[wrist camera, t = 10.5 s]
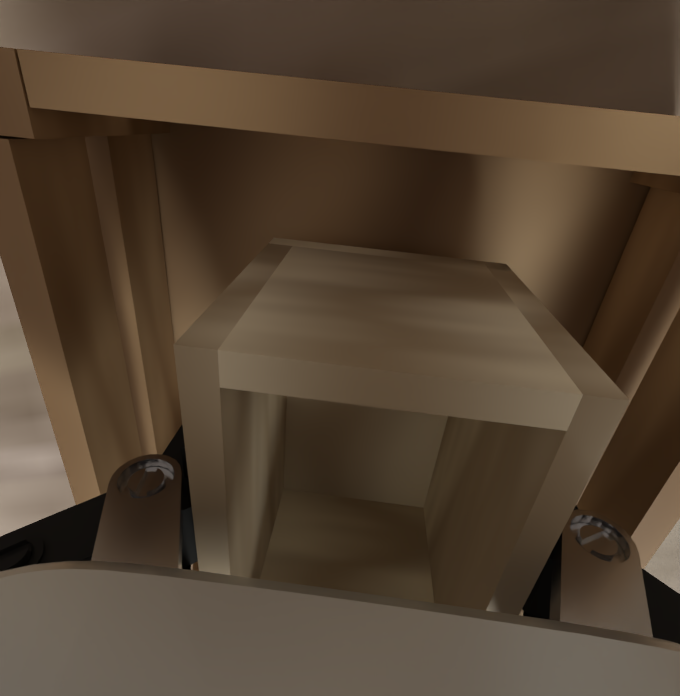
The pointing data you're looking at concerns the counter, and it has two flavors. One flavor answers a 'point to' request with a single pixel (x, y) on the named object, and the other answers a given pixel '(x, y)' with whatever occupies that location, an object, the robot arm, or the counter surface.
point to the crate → (325, 234)
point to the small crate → (387, 425)
